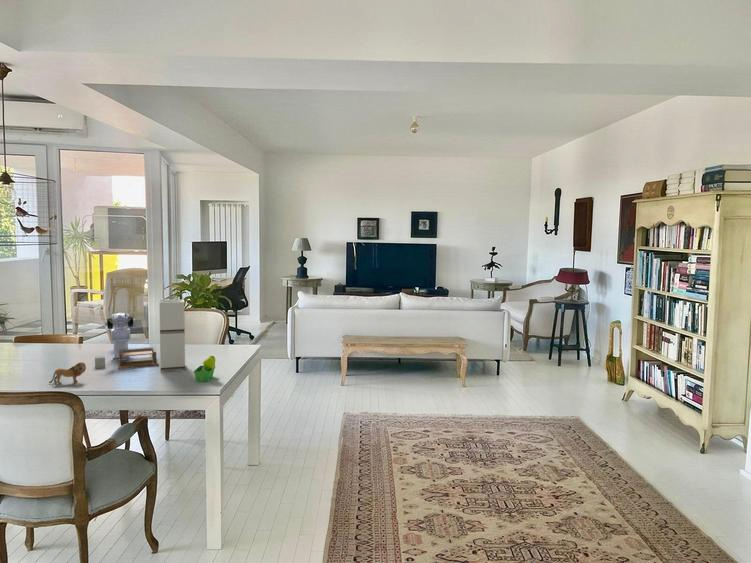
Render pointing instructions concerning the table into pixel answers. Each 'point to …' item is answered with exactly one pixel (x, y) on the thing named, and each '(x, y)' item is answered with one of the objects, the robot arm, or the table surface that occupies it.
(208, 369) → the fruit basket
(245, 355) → the table surface
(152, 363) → the frame
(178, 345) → the striped white tower
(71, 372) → the lion figurine
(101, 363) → the pale sage cube
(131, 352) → the trapdoor
